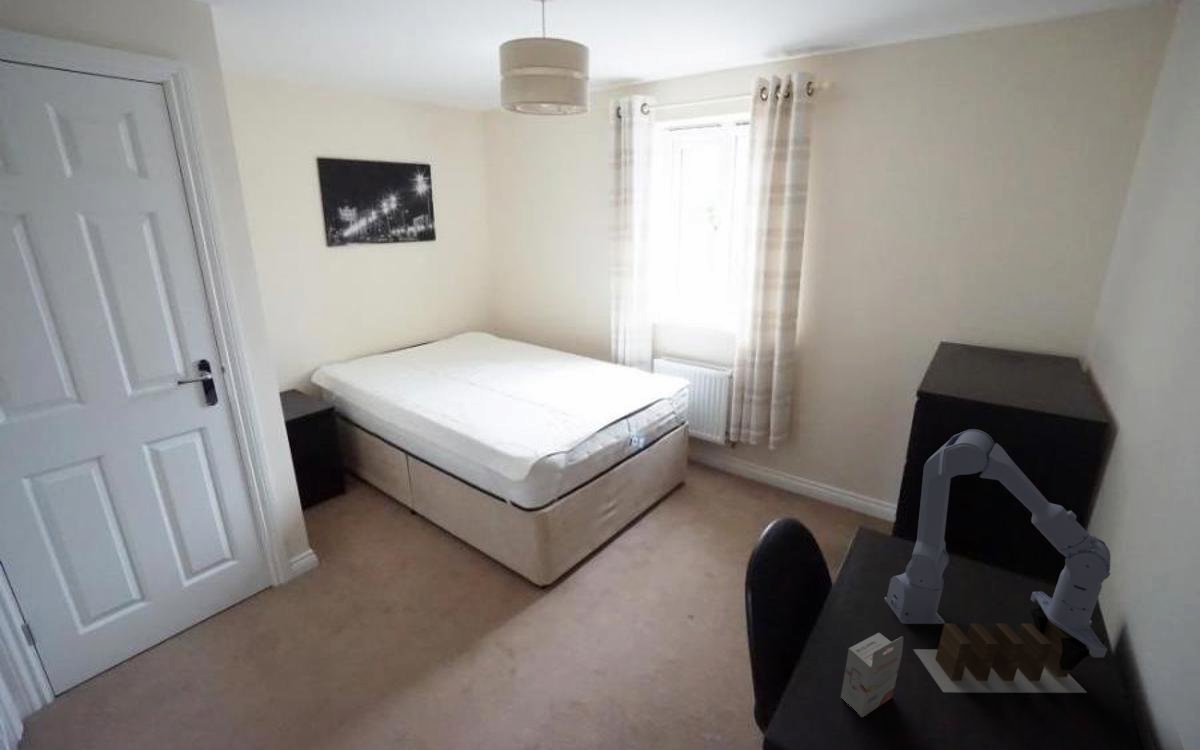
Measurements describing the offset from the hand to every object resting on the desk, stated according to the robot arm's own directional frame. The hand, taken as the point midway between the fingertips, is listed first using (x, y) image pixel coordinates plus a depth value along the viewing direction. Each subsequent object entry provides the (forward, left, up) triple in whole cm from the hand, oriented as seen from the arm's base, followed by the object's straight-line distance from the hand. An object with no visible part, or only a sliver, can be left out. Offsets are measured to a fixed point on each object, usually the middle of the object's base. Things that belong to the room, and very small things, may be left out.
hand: (1054, 656), depth 103 cm
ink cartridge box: (-39, -6, -4) cm, 40 cm away
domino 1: (-20, 0, -3) cm, 20 cm away
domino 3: (-10, 0, -3) cm, 11 cm away
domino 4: (-5, 0, -3) cm, 6 cm away
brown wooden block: (0, 0, -2) cm, 2 cm away
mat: (-10, 0, -4) cm, 11 cm away
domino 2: (-15, 0, -3) cm, 15 cm away
